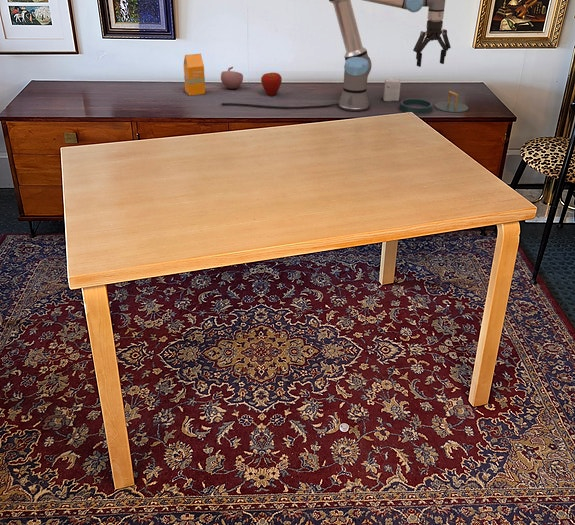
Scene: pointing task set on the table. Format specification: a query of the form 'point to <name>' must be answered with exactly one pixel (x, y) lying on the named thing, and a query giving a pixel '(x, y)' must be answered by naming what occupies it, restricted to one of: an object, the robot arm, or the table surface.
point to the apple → (271, 83)
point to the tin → (413, 109)
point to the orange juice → (194, 74)
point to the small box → (391, 90)
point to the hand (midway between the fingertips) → (430, 64)
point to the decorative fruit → (231, 78)
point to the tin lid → (451, 105)
